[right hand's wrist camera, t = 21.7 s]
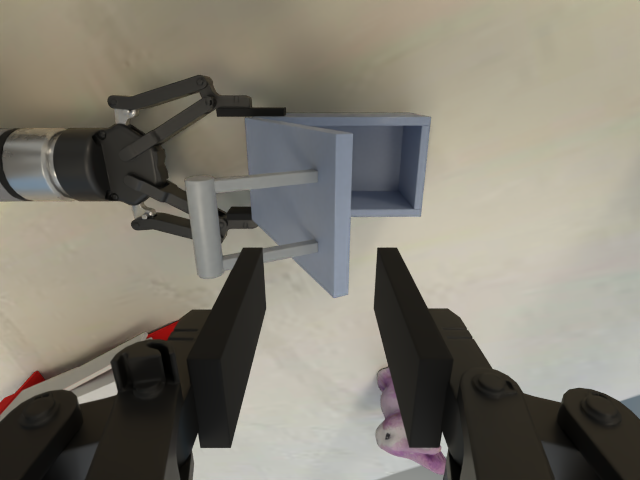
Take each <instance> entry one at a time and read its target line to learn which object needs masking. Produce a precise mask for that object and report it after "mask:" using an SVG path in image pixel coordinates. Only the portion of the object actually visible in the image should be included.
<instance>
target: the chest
mask: <svg viewBox="0 0 640 480" xmlns="http://www.w3.org/2000/svg"><path fill="white" fill-rule="evenodd" d="M253 117H257V118H263V119H269V120H275V121H281V122H288V123H294V124H300V125H306V126H312V127H318V128H325V129H331V130H337V131H343V132H349V133H353V152H352V185H351V217H421V210H422V200H423V190H424V180H425V171H426V161H427V151H428V142H429V132H430V123H431V117H429V116H424V115H419V114H413V113H286V115H285V116H253Z"/></svg>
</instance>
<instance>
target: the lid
mask: <svg viewBox="0 0 640 480" xmlns="http://www.w3.org/2000/svg"><path fill="white" fill-rule="evenodd" d="M245 128H246V142H247V156H248V170H249V175H244V176H234V177H223V178H214V177H213V176H207V175H199V176H191V177H188V178H185V187H186V194H187V201H188V209H189V216H190V224H191V231H192V238H193V246H194V253H195V260H196V268H197V275H198V276H199V277H200V278H203V279H212V278H216V277H219V276H221V275H222V274H223V273H224V271H225V270H230V269H233V267H234V265H235V263H236V261H237V259H238V257H239V255H240V253H241V252H240V253H235V254H229V255H224V256H222V246H221V237H220V227H219V218H218V208H217V199H216V193H224V192H233V191H243V190H250V198H251V212H252V220H253V221H254V222H255V223H256V224H257V225H258V226H259V227H260V228H261V229H262V230H263V231H264V232H265V233H266V234H268V235H269V236H270V237H271V238H272V239H273V240H274V241H275V242H276V243H277V244H278V245H279V246H274V247H268V248H263V263H266V262H271V261H276V260H281V259H286V258H293V259H294V260H295V261H296V262H297V263H298V264H299V265H300V266H301V267H302V268H303V269H304V270H305V271H306V272H307V273H308V274H309V275H310V276H311V277H312V278H313V279H314V280H315V281H316V282H317V283H319V284H320V285H321V286H322V287H323V288H324V289H325V290H326V291H327V292H328V293H329V294H330V295H331V296H332V297H333V298H336V297H340V296H344V295H348V283H349V250H350V218H351V185H352V152H353V133H349V132H343V131H337V130H331V129H325V128H318V127H312V126H306V125H300V124H294V123H288V122H281V121H275V120H269V119H263V118H257V117H247V118H245Z"/></svg>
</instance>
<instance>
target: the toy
mask: <svg viewBox="0 0 640 480" xmlns="http://www.w3.org/2000/svg"><path fill="white" fill-rule="evenodd" d="M177 323H178V321H176V322H174V323H172V324H170V325H168V326H166V327H163V328H161V329H159V330H157V331H155V332H153V333H150V334H148V333H147V332H144V333H142V334H140V335H138V336H136V337H134V338H133V339H131V340H129V341H127V342H125V343H123V344H121V345H119V346H118V347H116V348H114V349H112V350H110V351H108V352H106V353H105V354H103V355H101V356H99V357H97V358H95V359H93V360H91V361H90V362H88V363H86V364H84V365H82V366H80V367H79V366H78V367H76V368H74V369H71V370H69V371H67V372H64V373H62V374H60V375H57V376H55V377H53V378H50V379H48V380H45V379H44V378H43V377H42V375H41V374H40V373H39V372H38V371H36V372H34V373H33V374H32V375H31V376H30V377H29V378H28V380H27V381H26V382H25V383H24V384H23V385H22V386H21V387H20V388H19V389H18V391H17V392H16V393H15V394H13V395H10V396H8V397H5V398H4V399H3V400H2V401H1V402H0V421H1V420H2V419H3V418H4V417H5V416H6V415H7V414H8V413H9V412H11V411H12V410H13V409H14V408H16V407H17V406H18V405H19V404H21V403H22V402H24V401H26V400H28V399H30V398H31V397H33V396H35V395H38V394H41V393H44V392H47V391H52V390H61V389H62V390H68V391H72V392H73V393H74V394H75V395H76V396H77V398H78V402H79V404H82V403H86V402H91V401H95V400H99V399H104V398H107V397H111V396H114V395H117V392H118V391H117V387H116V383H115V379H114V375H113V371H112V367H111V363H110V361H111V360H112V359H113V357H114V356H115V355H116V354H117V353H118V352H119V351H121V350H122V349H124V348H125V347H127V346H129V345H132V344H134V343H136V342H140V341H144V340H148V339H161V340H165V341H166V340H168V337H169V336H170V334H171V332H172V331H173V329H174V328H175V326H176V324H177Z"/></svg>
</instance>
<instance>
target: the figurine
mask: <svg viewBox="0 0 640 480" xmlns="http://www.w3.org/2000/svg"><path fill="white" fill-rule="evenodd" d="M378 386H379V388H380V390H381V391H382V395H381V409H382V412H383V414H384V417H385V420H384V421H383V422H382V423H381V424H380V425H379V427H378V428H377V429H376V440H377V444H378V446H379V447H380V448H381V449H383V450H385V451H386V452H388V453H390V454H392V455H395V456H398V457H403V458H408V459H411V460H413V461H415V462H417V463H419V464H421V465H422V466H424V467H425V468H427V469H429V470H431V471H433V472H435V473H437V474H441V475H444V471H445V465H446V459H445V457H444V455H443V454H442V452H441V446H440V448H409V445H408V441H407V437H406V433H405V429H404V425H403V421H402V417H401V413H400V409H399V405H398V401H397V398H396V394H395V390H394V386H393V382H392V378H391V374H390V370H389V367H388V368H385V369H383V370H381V371H379V373H378Z"/></svg>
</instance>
